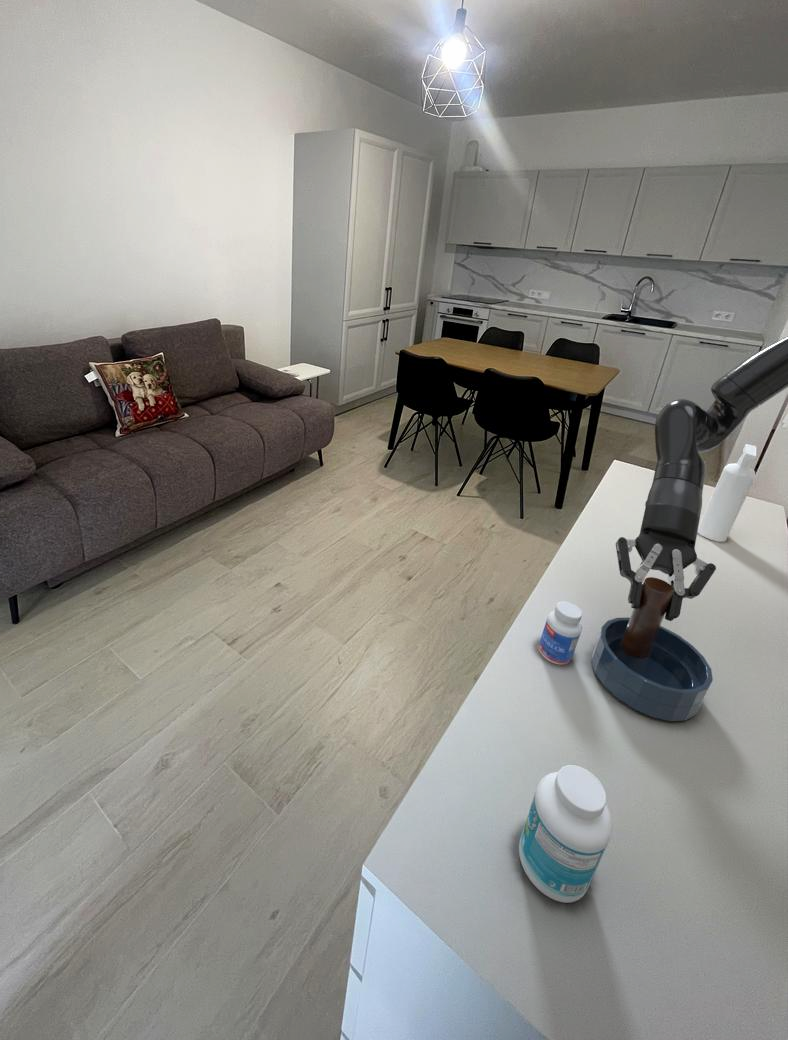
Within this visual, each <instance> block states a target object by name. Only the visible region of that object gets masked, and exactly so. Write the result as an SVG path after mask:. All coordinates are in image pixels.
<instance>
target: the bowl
mask: <svg viewBox="0 0 788 1040" xmlns="http://www.w3.org/2000/svg"><path fill="white" fill-rule="evenodd" d="M629 620H630V617H614V618H612V619H608V620H607V621H606V622H605V623H603V625H602V626H601V627H600V631H599V634H598V637H597V639H596V642H595V644H594V648H593V651H592V655H591V665H592V668H593V672H594V674H595V675H596V677H597V678H598V679H599V681H600V682H601V684H602V685H603V687H604V688H606V689H607V690H608V691H609V692H610V693H611V694H612V695H613V696H614V697H615V698H617V699H618V700H619V701H621V702H622V703H624V704H626V706H629V707H630V708H632V709H633V710H635V711H638V712H639V713H642V714H645V715H647V716H649V717H651V718H655V719H659V720H663V721H667V722H684V721H686V720H689V719H692V718H693V717H695V716H696V715H697V713H698V711H699V709H700V708H701V705H702V703H703V702H704V700H705V698H706V696H707V693H708V691H709V689H710V687H711V685H712V683H713V680H714V679H713V672H712V668H711V666H710V665H709V663H708V662H707V660H706V658H705V656H704V655H703V654H702V653H701V652H700V651H699V650H698V649H697V648H696V647H695V646H694V645H693V644H692V643H690V642H689V641H687V640H686V639H684V638H683V637H682V636H680V635H679V634H677V633H676V632H673V631H671V630H670V629H668V628H666V627H664V626H662V625H660V628H659V630H658V632H657V635H656V637H655V640H654V642H653V644H652V647H651V649H650V652H649V654H648V656H647V658H645V659H637V658H634V657H632V656H630V655H628V654H627V653H625V652H624V651H623V649H622V648H621V645H620V643H621V641H622V638H623V635H624V633H625V630H626V628H627V625H628V622H629Z"/></svg>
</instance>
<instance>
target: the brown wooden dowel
mask: <svg viewBox="0 0 788 1040" xmlns="http://www.w3.org/2000/svg"><path fill="white" fill-rule="evenodd" d="M642 584H644V585H643V590H642V595H641V600H640V605H639V608H637V609H634V608H632V612H631V613H630V614H631V615H630V617H629V618H630V620H629V622H628V625H627V628H626V630H625V633H624V635H623V638H622V641H621V643H620V645H621V648H622V649H623V651H624V652H625V653H627V654H628V655H630V656H632V657H634V658H637V659H645V658H647V656H648V654H649V652H650V649H651V647H652V644H653V642H654V640H655V637H656V635H657V632H658V630H659V628H660V626H662V623H663V620H664V619H665V615H666V611H667V608H668V606H669V603H670V601H671V599H672V596H673V594H674V588H673V587H672V586H671V585H670V583H669V582H667V581H665V580H663V579H661V578H657V577H651V576H650V577H645V578H644V580H643V582H642Z"/></svg>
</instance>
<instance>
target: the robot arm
mask: <svg viewBox="0 0 788 1040" xmlns="http://www.w3.org/2000/svg"><path fill="white" fill-rule="evenodd" d="M787 388H788V336H785V337H784V338H782V339H779V340H778V341H775V342H774V343H772V344H769V345H768V346H766V347H764V348H762V349H761V350H759V351H757V352H755V353H754V354H752V355H751V356H749V357H747V358H746V359H745V360H743V361H742V362H741V363H739V364H738V365H736V366H735V367H733V368H732V369H731V370H730V371H728V372H727V373H725V374H724V375H722V376H721V377H719V378H718V379H717V380H716V381H715V382H714V383H713V384H712V385H711V386H710V391H711V394H712V396H713V397H714V402H713V403H712V404H711V406H710V407H709V408H708V409H707V410H705V409H703V408H702V407H701V406H700V405H699V404H698V403H696V402H694V401H693V400H690V399H686V398H685V399H684V398H681V399H680V398H679V399H675V400H672V401H670V402H669V403H666V405H665V406H663V408H662V409H661V410H660V411H659V413H658V415H657V417H656V420H655V424H654V440H655V442H654V443H655V444H654V445H655V453H656V466H655V469H654V474H653V479H652V483H651V487H650V489H649V490H648V491H649V492H648V494H647V498H646V501H645V502H644V503H645V504H644V506H645V508H644V512H643V517H642V521H641V525H640V530H639V534H638V536H637V537H636V538H635V539H631V538H629V539H627V538H625V537H623V536H621V537H619V538H618V539H617V540H616V542H615V551H616V556H617V557H616V558H617V563H618V570H619V575H620V576H621V577H622V578H625V579H627V580H628V581H629V583H630V586H629V592H628V597H627V602H628V603H629V604H631V606H630V608H631V609H637V608H639V605H640V600H641V595H642V590H643V585H644V584H643V582H644V580H645V579H646V578H647V577H646V576H647V575H648V573H649V572H650V570H652V571H659V572H661V573H663V574H666V575H667V579H668V583H669V584H670V585H671V586H672V587H673V588H674V594H673V596H672V599H671V601H670V603H669V606H668V608H667V611H666V613H665V615H664V620H666V621H669V622H672V621H674V619H677V618H679V616H680V615H681V610H682V605H683V599H690V600H691V599H694V598H696V597H698V596H700V594H701V593H702V591H703V590H704V588H705V587H706V585H707V583H708V582H709V580H710V579H711V577H712V576H713V575H714V573H715V572H716V570H717V566H716V565H715V564H714V563H711V562H710V563H709V562H705V561H704V560H702V559H700V558H699V557H698V555H697V552H696V542H697V538H698V532H697V531H698V526H699V523H700V521H701V515H702V509H703V490H704V486H705V485H704V484H705V480H706V476H707V465H706V462H705V459H704V458H703V457H702V455H701V453H705V452H708V451H711V450H713V449H715V448H717V447H718V446H719V445H721V444H722V443H723V442H724V441H725V440H726V439H727V438H728V437H729V436H730V435H731V434H732V433H733V432H734V431H735V430H736V429H737V428H738V427H739V425H741V423H743V422H744V420H745V419H746V418H747V416H748V415H749V414H750V413H751V412H752V411H754V410H756V409H757V408H759V407H760V406H762V405H764V403H767V402H768V401H769V400H771V399H772V398H774V397H776V396H777V395H778V394H780V393H782V392H783V391H784V390H785V389H787ZM634 547H635V549H636V551H637V554H638V555H639V557H640V559H641V563H640V564H639V566H638V568H637V569H636V571H634V570H632V565H631V558H630V553H632V551H633V548H634ZM691 565H693V566H694V569H693V571H694V574H696V576H695V577H694V579H693V581H692V582H691V583H690V585H689V586H688V587H685V581H684V580H685V574H684V570H685V569H686V568H688V567H689V566H691Z"/></svg>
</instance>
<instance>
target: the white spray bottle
mask: <svg viewBox="0 0 788 1040" xmlns="http://www.w3.org/2000/svg"><path fill="white" fill-rule="evenodd" d="M756 458H757V446H756V445H753V444H748V443H745V445H744V447H743V449H742V454H741V456H740V457H739V459H738V460H737V461H736V463H735V462H734V463H733V462H732V463H727V464H726V465H725V466H724V467H723V470H722V472H721V473H720V476H719V478H718V481H717V483H716V486H715V488H714V490H713V492H712V494H711V497H710V499H709V501H708V503H707V505H706V508H705V509H704V513H703V514H702V517H701V518H700V520H699V526H698V531H697V534H699V535H700V536H702V537H703V538H706V539H708V540H711V541H715V542H718V543H721V542H727V538H728V537H729V535H730V533H731V530H732V528H733V526H734V524H735V522H736V520H737V517H738V515H739V513H740V511H741V509H742V507H743V505H744V503H745V501H746V499H747V497H748V494H749V493H750V490H751V488H752V486H753V484H754V482H755V479H756V470H754V469H752V467H751V465H752V464H751V463H752V460H753V461H755V460H756Z"/></svg>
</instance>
